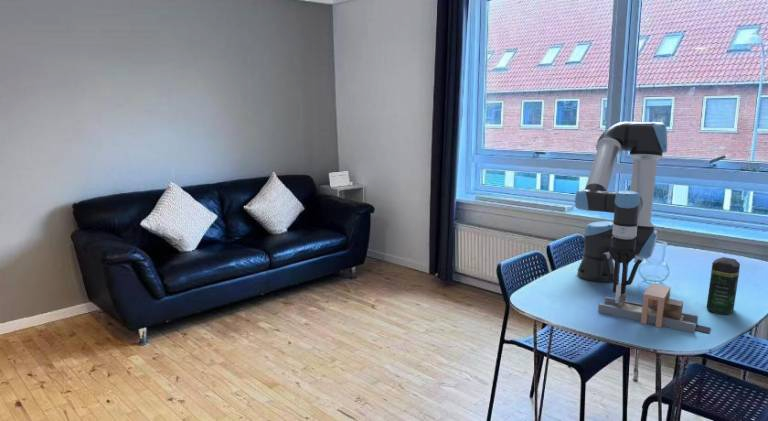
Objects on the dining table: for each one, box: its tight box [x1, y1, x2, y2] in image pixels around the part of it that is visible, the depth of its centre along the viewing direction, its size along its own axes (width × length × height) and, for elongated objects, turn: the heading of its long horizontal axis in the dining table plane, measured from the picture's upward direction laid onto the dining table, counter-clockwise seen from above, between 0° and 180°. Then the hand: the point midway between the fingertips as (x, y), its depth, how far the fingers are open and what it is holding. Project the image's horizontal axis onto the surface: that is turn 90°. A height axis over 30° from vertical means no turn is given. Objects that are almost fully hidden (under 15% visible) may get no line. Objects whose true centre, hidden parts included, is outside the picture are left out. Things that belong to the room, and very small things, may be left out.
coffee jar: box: [706, 256, 741, 315], centre depth 180 cm, size 10×8×19 cm
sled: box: [618, 292, 684, 321], centre depth 174 cm, size 19×6×6 cm, turn 53°
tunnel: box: [640, 283, 671, 329], centre depth 173 cm, size 6×12×10 cm, turn 143°
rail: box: [597, 296, 699, 334], centre depth 176 cm, size 29×9×3 cm, turn 53°
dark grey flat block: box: [694, 324, 712, 334], centre depth 166 cm, size 4×5×1 cm
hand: (618, 301), depth 181 cm, fingers closed
